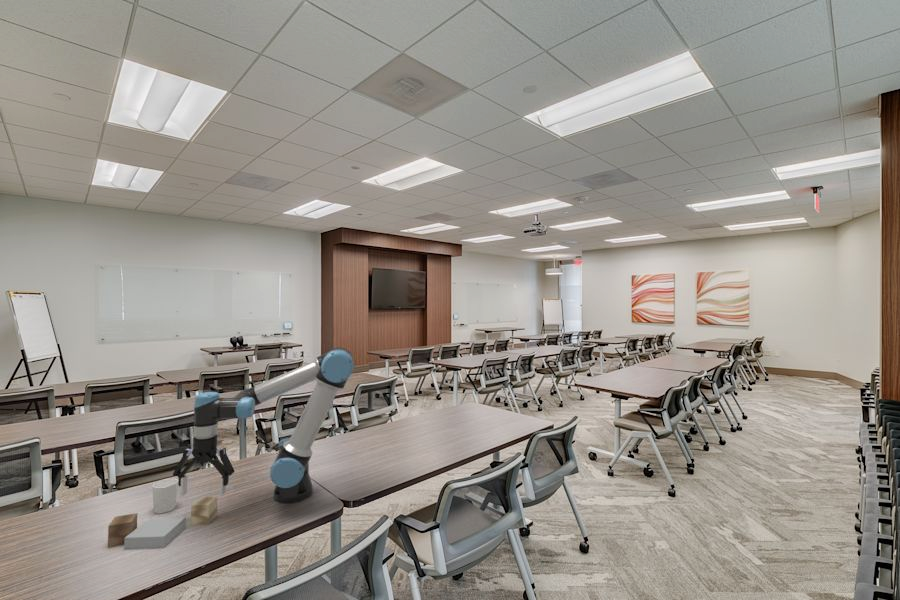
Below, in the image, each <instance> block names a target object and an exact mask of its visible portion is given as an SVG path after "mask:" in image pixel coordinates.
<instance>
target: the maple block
mask: <svg viewBox="0 0 900 600" xmlns="http://www.w3.org/2000/svg"><path fill="white" fill-rule="evenodd" d="M217 516H218V496H202V497H198V499H197V500H196V501H194V502H193V503H192V504H191V505H190V525H191V526H201V525H202V526H203V525H209V524H210V523H211V522H212V521H213V520H214V519H215V518H217Z"/></svg>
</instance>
